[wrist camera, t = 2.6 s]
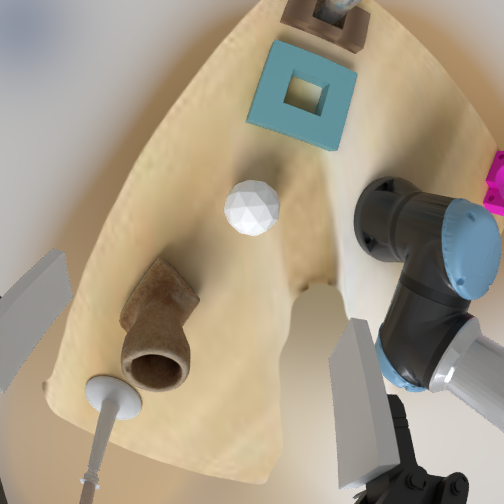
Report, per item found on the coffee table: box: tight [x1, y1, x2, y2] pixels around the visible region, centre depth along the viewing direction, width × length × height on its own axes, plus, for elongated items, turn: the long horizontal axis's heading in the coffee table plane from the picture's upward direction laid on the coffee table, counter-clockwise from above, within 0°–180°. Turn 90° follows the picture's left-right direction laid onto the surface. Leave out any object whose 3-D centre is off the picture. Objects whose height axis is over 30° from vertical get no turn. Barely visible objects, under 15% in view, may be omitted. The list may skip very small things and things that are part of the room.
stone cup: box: [119, 258, 200, 392], centre depth 40 cm, size 15×12×15 cm
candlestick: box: [80, 376, 142, 504], centre depth 36 cm, size 13×13×30 cm
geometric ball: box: [224, 179, 280, 236], centre depth 41 cm, size 8×8×8 cm
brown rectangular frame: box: [280, 0, 370, 54], centre depth 35 cm, size 14×9×3 cm, turn 73°
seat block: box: [246, 39, 357, 151], centre depth 39 cm, size 14×14×3 cm
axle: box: [314, 0, 361, 26], centre depth 30 cm, size 4×4×14 cm
